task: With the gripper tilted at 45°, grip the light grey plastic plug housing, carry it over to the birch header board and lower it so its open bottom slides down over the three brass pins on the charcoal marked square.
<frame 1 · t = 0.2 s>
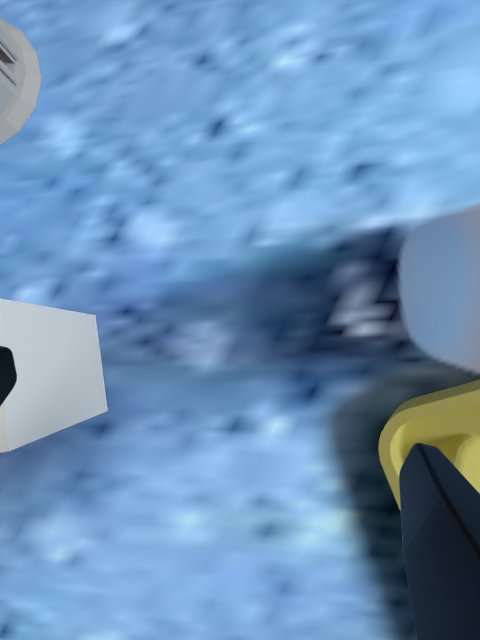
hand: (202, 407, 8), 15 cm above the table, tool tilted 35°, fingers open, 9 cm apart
plug housing: (63, 368, 24), on the table
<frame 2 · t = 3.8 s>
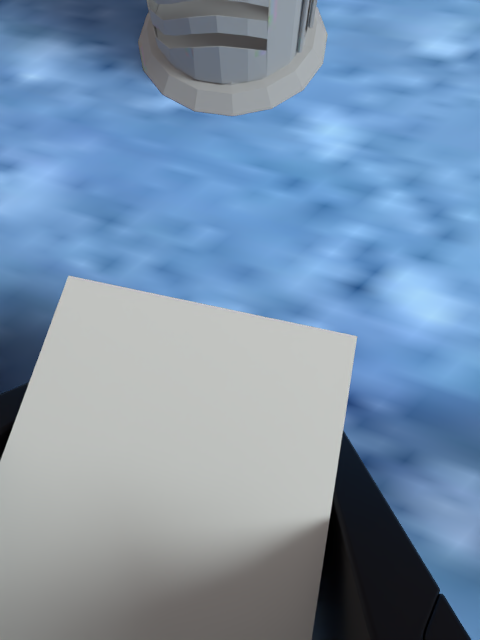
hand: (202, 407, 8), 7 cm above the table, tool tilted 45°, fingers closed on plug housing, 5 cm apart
plug housing: (214, 451, 14), on the table, touching gripper
french press: (248, 46, 20), on the table
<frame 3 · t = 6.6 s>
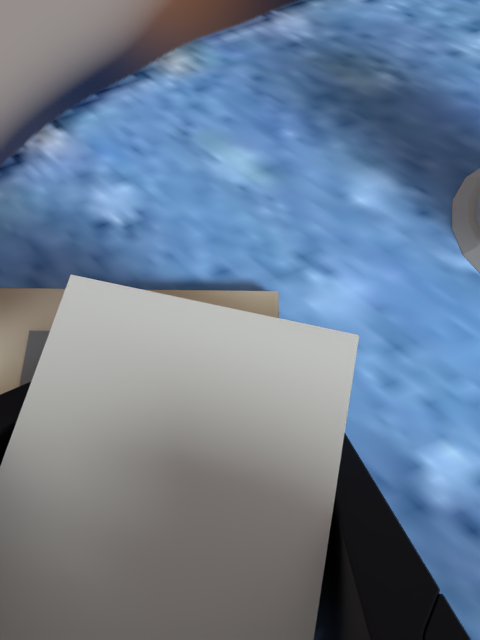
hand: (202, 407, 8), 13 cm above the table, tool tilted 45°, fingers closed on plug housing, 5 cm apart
header board: (113, 418, 21), on the table
plug housing: (215, 451, 14), point 6 cm above the table, touching gripper
when the fingers open (9 cm above the table, at t = 9.4 s): plug housing stays where it is, resting on header board.
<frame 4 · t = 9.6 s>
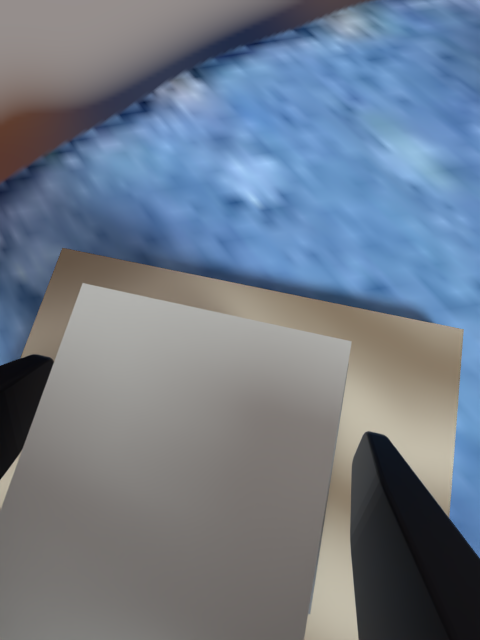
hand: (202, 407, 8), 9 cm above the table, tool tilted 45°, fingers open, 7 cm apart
header board: (219, 448, 16), on the table
plug housing: (216, 449, 15), point 2 cm above the table, touching header board
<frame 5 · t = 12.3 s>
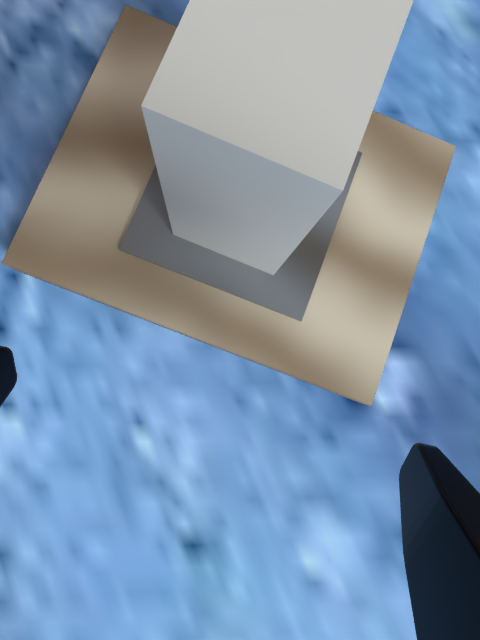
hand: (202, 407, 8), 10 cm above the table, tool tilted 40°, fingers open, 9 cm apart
header board: (242, 212, 20), on the table
plug housing: (246, 198, 18), point 2 cm above the table, touching header board
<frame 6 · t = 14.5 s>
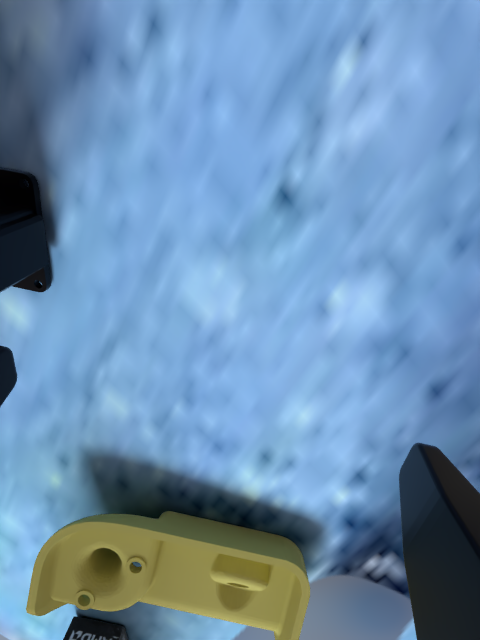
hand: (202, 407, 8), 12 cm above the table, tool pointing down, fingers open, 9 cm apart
plastic component: (190, 535, 33), on the table
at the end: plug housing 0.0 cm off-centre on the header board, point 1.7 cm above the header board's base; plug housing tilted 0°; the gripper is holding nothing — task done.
